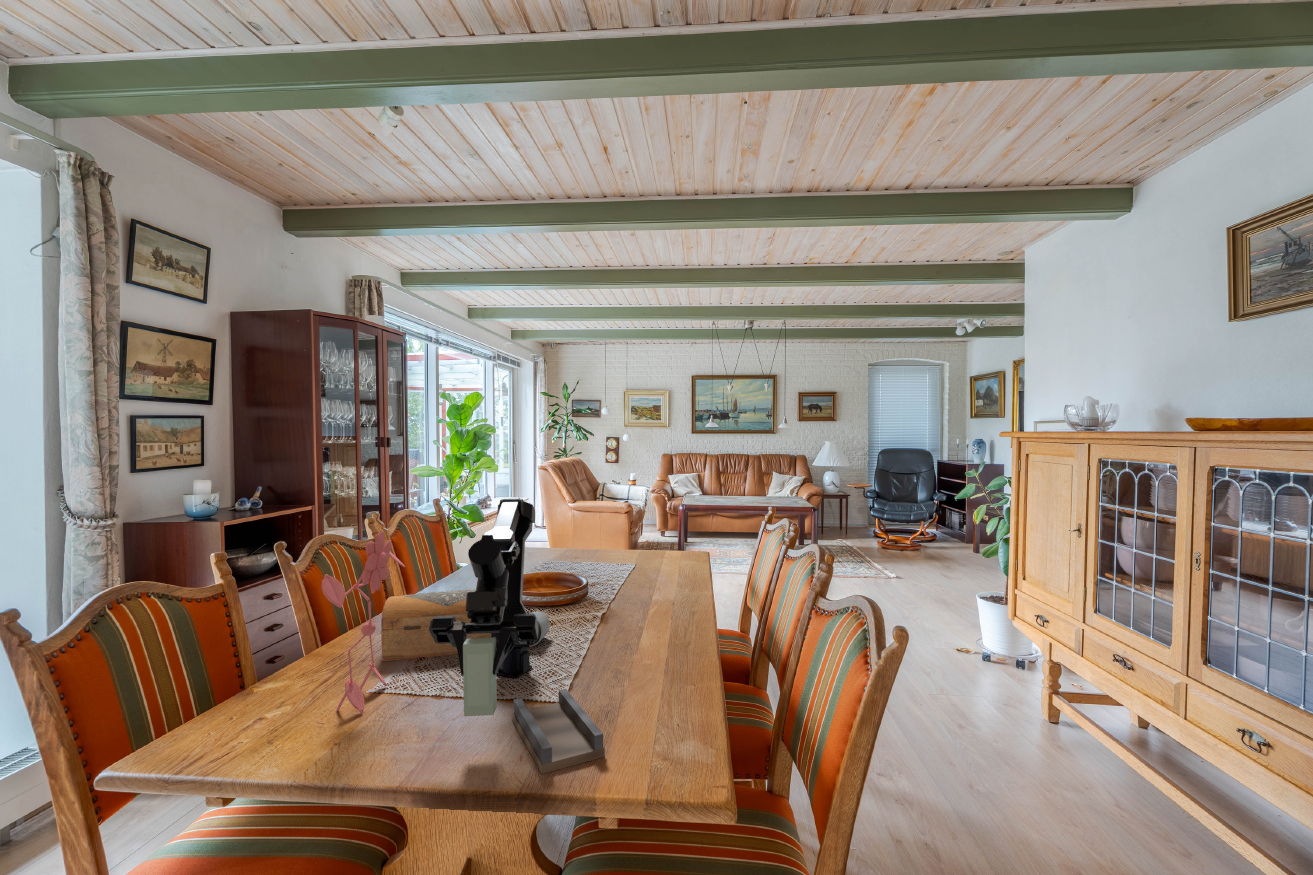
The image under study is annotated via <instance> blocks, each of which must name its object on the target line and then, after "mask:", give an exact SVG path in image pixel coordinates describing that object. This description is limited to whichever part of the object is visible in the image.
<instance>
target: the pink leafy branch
mask: <svg viewBox="0 0 1313 875" xmlns="http://www.w3.org/2000/svg"><path fill="white" fill-rule="evenodd" d="M385 540H386V538H385V532H384V530H381V531H380V533H377V534H376V536H375V537H374V541H372V540H369V541H368V542H367V543H366V544H365V554H366V556H367V559H366V560H365V561H366V562H365V564H364V569H363V571H362V573H361V575H360V577H359V578H358V580H357V582H356V583H354V584H353V586H352V587H350V588H349V589H348V590H347V591H346V592H345V587H344V586H343V584H342V583H341V581H339V580H338V579H337V578H336V577H334V576H331V575H329V574H328V573H326V574H324V575H323V579H322V580H321V590H322V593H323V595H324V596H325V598H326V599H327V601H329V602H330V603H332V604H333V605H334V606H335V607H338V608H339V609H342V608H343V605H344V602H345V598H346V597H347V596H349V594H350V593H351V592H352V591H354V590H357V591H358V592H359V594H361V596H363V598H364V599H365V600H366V601H367V610H368V622H366V623H363V625H362V626H361V628H360V633H361V634H362V637H360V638H359V639H358V640H357V641H356V642H355V644H353V645H352V646H351V647H349V649H348V650H347V658H348V666H349V667H348V669H349V679H347V680H346V682H345V683H344V688H345V691H344V694H343V697H342V698H341V700H340V701H339V702H338V705H337V707H336V711H340V709H341V707H342V706H343V703H344V702H345V700H346V697H347V700H348V702H349V703H350V704H351V706H352V707H353V708H354V709H356V710H358V712H360V714H363V713H364V711H365V698H364V697H365V696H364V694H363V691H362V689H364V688H363V687H364V686H365V684H366V683H367V681H368V679H369V676H370V674H371V673H372V672H373V673H374V675H375V676H376V677H377V678H378V680H379V681H380V682H381V683H382V684H383V685H384V686H385V687H387V686H388V683H387V682H386V681H385V679H384V678H383V676H382V675H381V674H380V672H379V670H377V668H376V665H375V661H374V660H375V659H374V650H373V642H372V635H373V634H374V633H375V632H376V630H377V629H376V625H375V624H374V623H373V622H372V601H371V599H370V597H369V596H368V595H366V593H364V591H362V589H360V587H363V586H365V585H368V584H369V587H370V592H371V594H375V592H376V591H379V590H380V587H381V581H384V580H387V579H388V578H389V576H390V569H389V567H388V563H389V560H390V558H392V560H394V562H396V564H398V565H399V566H401V567H403V568H404V569H405V568H406V566H405V564H404V563H403V562H402V561H401V560H400V559H399V558H398V557H397V556H396V555H395V554H394V553H392V552H391V548H392V541H391V540H390V539H388V540H387V541H385ZM366 637H368V639H369V646H370V655H371V662H368V665H369V667H370V668H369V669H368V671H367V673H366V675H365V676H364V679H363V681H362V683H361V684H360V685H359V684H358V683H357V682H356V681H355V680H353V673H352V660H351V651H353V649H354V648H355V647H356V646H357V645H358V644H359V643H360V642H361V641H362V640H363V639H364V638H366ZM413 680H414V679H412V681H413ZM415 681H416V680H414V682H415ZM421 685H422V687H424V686H423V684H421ZM421 696H422V695H419V696H417V697H416V698H415V699H414V700H413V701H411V702H410V703H409V704H407V705H406V706H404V707H402V708H401V710H403V709H405V708H407V707H408V706H411V704H413V703H414V702H415V701H416V700H417V699H418V698H421ZM315 723H316V724H319V725H320V724H322V725H325V723H323V722H319V721H318V722H315Z"/></svg>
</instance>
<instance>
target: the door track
mask: <svg viewBox="0 0 1313 875" xmlns="http://www.w3.org/2000/svg"><path fill="white" fill-rule="evenodd" d="M512 703H513V712H512V715H511V716H512V717H511V720H512V723H513V724H514V726H515V728H516V730H517V732H518V733H519V735H520V737H521V740H522V741H523V743H524V744H525V746H526V749H527V750H528V752H529V754H530V755H531V757H532V760H533V761H534V762H535V765H536V767H537V768H538V770H539V771H540V774H541V775H543V774H547V773H550V772H551V773H552V772H554V771H558V770H562V769H565V768H568V767H569V768H570V767H572V766H576V765H580V764H583V763H587V762H590V761H593V760H597V759H601V758H604V757H606V754H605V753H606V748H605V746H604V733H603V732H602V730H601V729H600V728H599V727H598V725H597V724H596V723H595V722H594V720H592V718H591V717H590V716H589V715H588V713H587V712H586V711H585V710H584V709H583V707H582V706H581V705H580V703H578V701H577V700H576V699H575V698H574V697H573V695H572V694H571V693H570V691H568V689H567V688H563V689H562V688H561V689H558V702H555V703H551V704H546V705H543V706H538V707H534V708H533V707H532V708H528V707H527V705H526V703H525V701H524V700H523V698H522V697H520V698H515V699H513V702H512Z"/></svg>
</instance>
